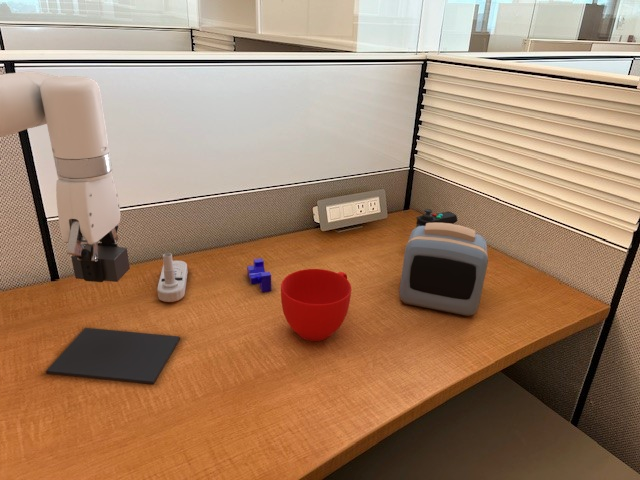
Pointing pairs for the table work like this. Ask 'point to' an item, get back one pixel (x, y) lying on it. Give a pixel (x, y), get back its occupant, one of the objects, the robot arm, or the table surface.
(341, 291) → the ceramic cup
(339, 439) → the table surface
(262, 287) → the cable holder
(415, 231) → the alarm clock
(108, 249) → the block
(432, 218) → the controller
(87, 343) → the desk mat
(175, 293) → the electronic device
